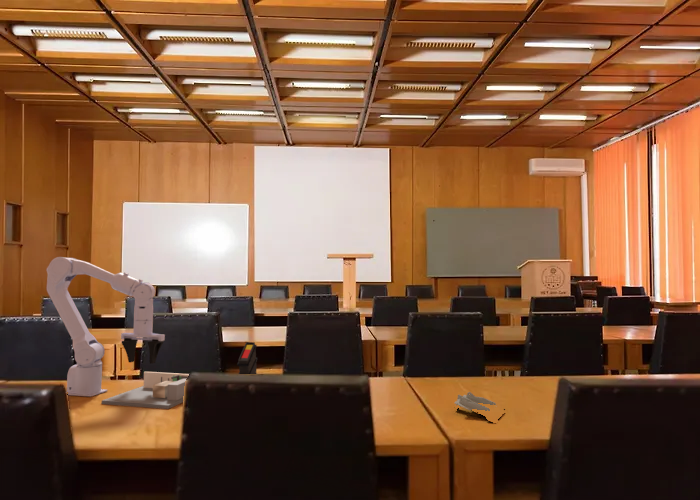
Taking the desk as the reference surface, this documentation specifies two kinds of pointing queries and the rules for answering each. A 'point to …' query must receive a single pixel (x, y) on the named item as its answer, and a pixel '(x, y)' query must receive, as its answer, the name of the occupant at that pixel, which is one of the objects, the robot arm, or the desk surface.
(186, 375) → the gauge board
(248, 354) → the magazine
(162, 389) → the block
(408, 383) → the desk surface
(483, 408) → the grey angular piece
